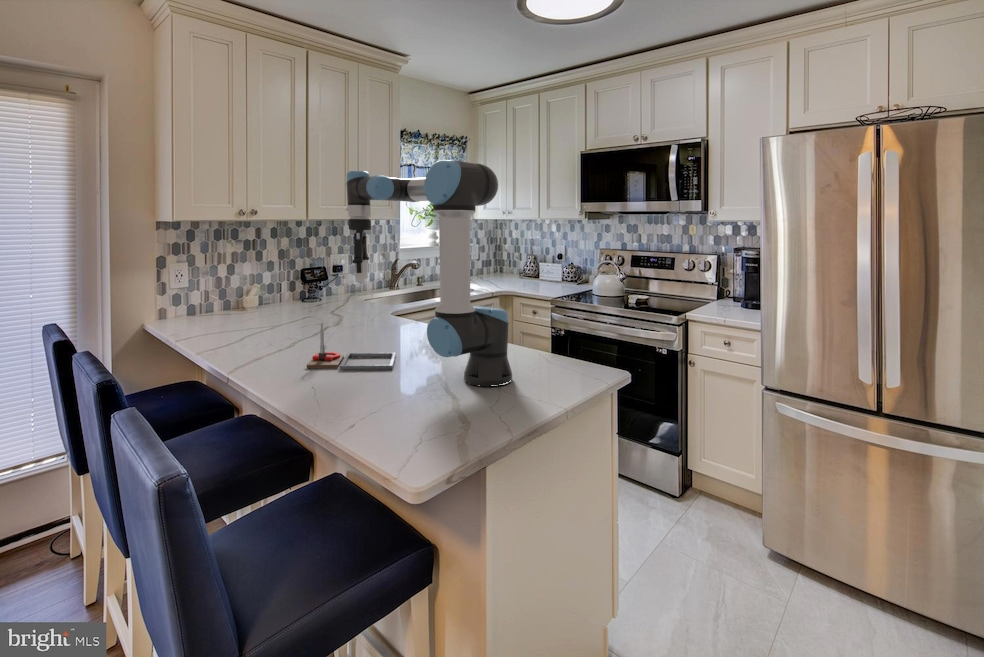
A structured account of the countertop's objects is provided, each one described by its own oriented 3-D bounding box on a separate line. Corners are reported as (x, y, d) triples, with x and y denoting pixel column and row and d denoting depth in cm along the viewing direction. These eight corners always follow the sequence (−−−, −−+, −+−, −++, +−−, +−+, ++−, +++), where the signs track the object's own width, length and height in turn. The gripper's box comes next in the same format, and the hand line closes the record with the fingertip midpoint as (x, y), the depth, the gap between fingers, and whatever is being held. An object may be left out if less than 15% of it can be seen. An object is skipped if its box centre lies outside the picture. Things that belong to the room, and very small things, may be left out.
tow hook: (321, 354, 186) (309, 360, 177) (320, 319, 184) (308, 322, 175) (344, 356, 185) (333, 361, 176) (343, 320, 183) (332, 323, 174)
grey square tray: (392, 369, 172) (392, 365, 172) (339, 370, 170) (339, 366, 170) (395, 356, 188) (395, 352, 188) (347, 357, 187) (347, 352, 186)
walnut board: (337, 368, 172) (337, 364, 172) (306, 368, 171) (306, 365, 171) (343, 358, 184) (343, 355, 184) (314, 359, 183) (314, 355, 183)
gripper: (352, 218, 189) (355, 276, 194) (343, 217, 165) (346, 284, 169) (373, 218, 191) (375, 276, 195) (367, 218, 166) (369, 284, 171)
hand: (361, 280), depth 182 cm, fingers open, 13 cm apart
